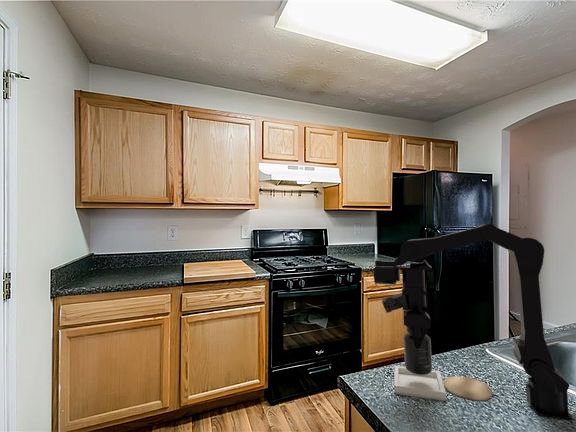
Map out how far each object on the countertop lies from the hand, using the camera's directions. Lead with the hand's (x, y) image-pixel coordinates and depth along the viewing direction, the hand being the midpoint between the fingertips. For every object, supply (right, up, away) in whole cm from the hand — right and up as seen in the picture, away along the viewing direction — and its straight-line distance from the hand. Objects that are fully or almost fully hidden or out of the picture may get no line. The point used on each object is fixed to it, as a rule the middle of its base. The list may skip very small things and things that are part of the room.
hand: (416, 343), depth 83 cm
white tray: (0, -11, -1) cm, 11 cm away
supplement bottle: (0, -7, 0) cm, 7 cm away
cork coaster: (+12, -11, -3) cm, 16 cm away
